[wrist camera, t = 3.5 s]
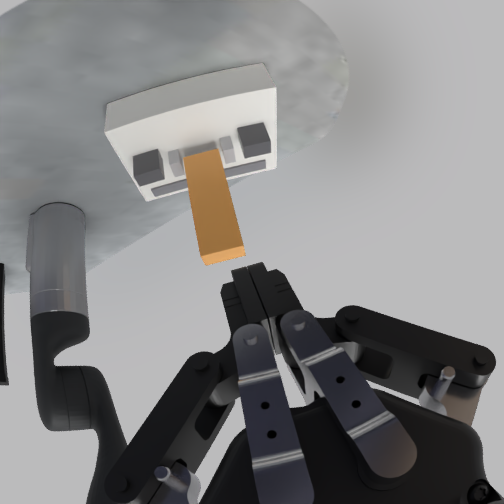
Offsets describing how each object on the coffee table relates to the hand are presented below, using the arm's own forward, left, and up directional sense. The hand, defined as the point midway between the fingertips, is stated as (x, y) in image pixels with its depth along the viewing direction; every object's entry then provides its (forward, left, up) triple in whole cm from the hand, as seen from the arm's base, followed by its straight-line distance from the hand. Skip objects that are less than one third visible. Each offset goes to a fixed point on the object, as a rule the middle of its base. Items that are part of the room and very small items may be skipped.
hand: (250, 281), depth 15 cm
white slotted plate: (+1, -14, -26) cm, 29 cm away
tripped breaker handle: (+1, -14, -19) cm, 24 cm away
